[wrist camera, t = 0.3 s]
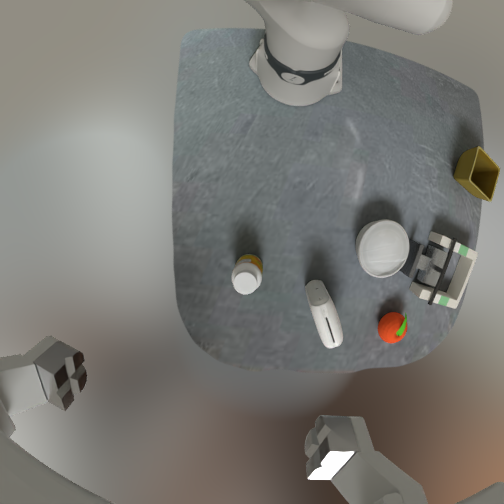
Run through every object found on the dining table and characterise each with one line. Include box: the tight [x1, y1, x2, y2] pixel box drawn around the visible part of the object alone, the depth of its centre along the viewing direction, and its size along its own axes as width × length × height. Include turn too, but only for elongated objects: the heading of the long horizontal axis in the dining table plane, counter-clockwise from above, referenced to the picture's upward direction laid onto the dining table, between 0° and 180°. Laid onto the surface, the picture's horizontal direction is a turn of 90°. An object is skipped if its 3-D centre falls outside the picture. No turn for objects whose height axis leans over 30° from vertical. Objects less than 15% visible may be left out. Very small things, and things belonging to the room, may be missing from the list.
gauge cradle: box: [409, 231, 478, 309], centre depth 49 cm, size 14×13×5 cm
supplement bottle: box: [232, 254, 263, 294], centre depth 50 cm, size 5×5×10 cm
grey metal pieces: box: [400, 238, 457, 305], centre depth 49 cm, size 15×10×6 cm
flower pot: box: [453, 146, 500, 201], centre depth 42 cm, size 9×9×9 cm
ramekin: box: [355, 219, 409, 278], centre depth 49 cm, size 11×11×5 cm
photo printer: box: [305, 280, 343, 348], centre depth 49 cm, size 10×4×12 cm, turn 22°
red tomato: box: [378, 312, 407, 343], centre depth 52 cm, size 8×7×7 cm
